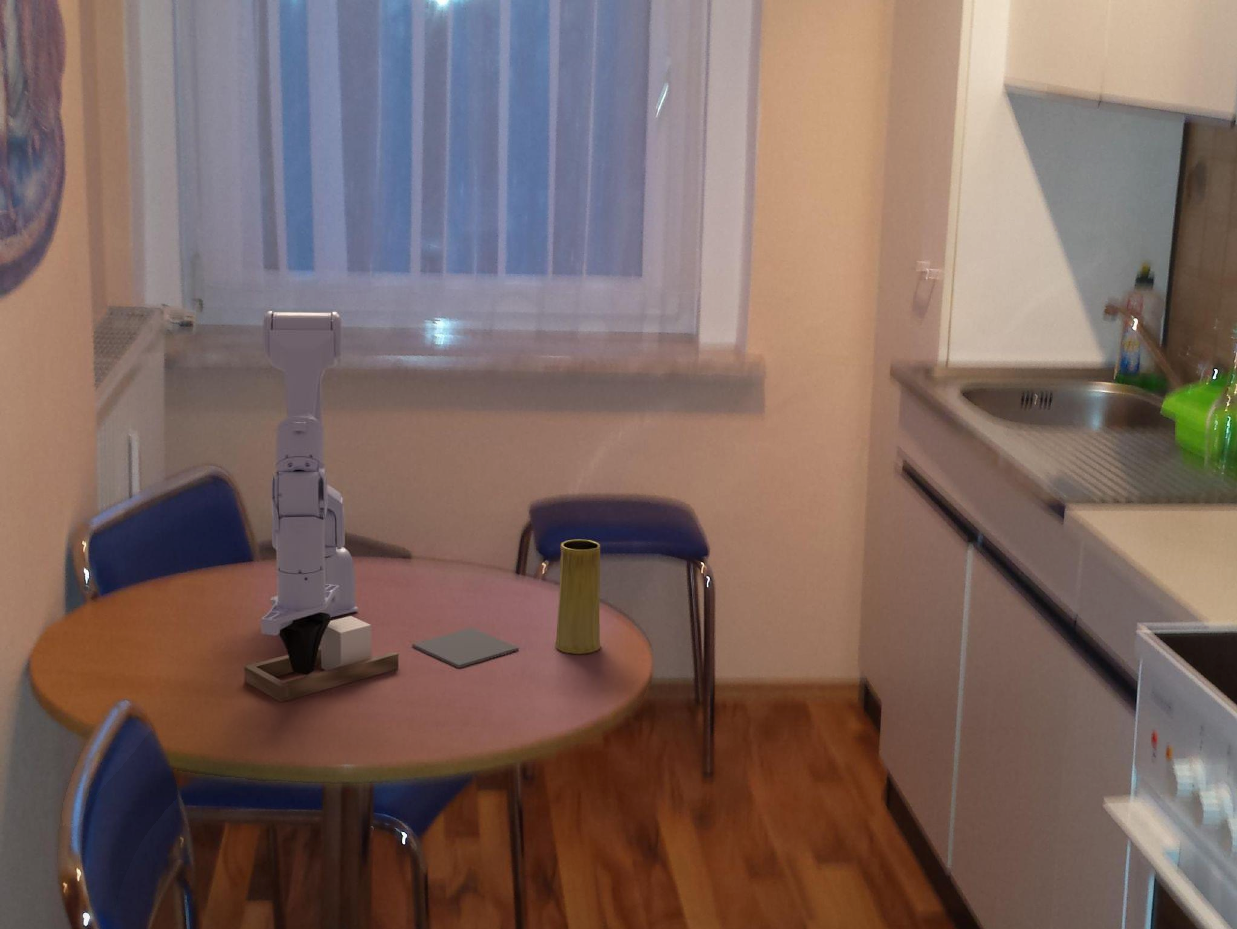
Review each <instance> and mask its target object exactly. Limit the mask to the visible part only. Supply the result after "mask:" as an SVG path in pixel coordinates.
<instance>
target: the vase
mask: <svg viewBox="0 0 1237 929" xmlns="http://www.w3.org/2000/svg"><path fill="white" fill-rule="evenodd" d="M600 577H601V544H600V543H599V542H597V541H594V540H590V539H582V538H581V539H570V540H565V541H563V542H561V543H560V561H559V589H558V590H559V592H558V606H557V607H558V608H557V621H556V622H557V623H556V624H557V625H556V640H555V642H554V646H555V648H556V649H557V650H558V649H559V651H560V650H561V651H560V652H562V653H565V652H567V653H566V654H570V653H572V655H588V654H593V653H595V652H596V651H599V649H600V648H601V645H602V644H601V639H600V636H601V630H600V629H601V627H600V590H601V587H600V585H601V583H600ZM587 653H588V654H587Z"/></svg>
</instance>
